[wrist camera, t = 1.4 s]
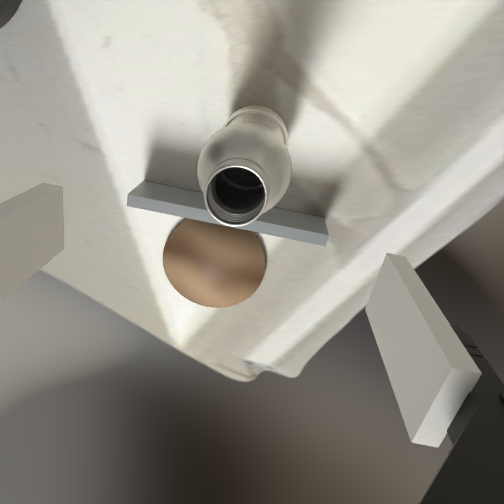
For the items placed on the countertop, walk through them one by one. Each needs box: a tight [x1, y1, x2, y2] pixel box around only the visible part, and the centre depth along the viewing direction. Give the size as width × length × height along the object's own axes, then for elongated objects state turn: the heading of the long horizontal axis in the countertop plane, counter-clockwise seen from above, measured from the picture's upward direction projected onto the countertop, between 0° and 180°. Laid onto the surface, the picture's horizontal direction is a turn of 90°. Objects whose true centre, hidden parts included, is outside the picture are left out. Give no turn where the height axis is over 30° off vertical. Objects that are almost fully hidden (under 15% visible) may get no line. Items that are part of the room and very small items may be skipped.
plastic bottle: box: [197, 105, 292, 227], centre depth 31 cm, size 6×7×20 cm
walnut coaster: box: [163, 219, 265, 308], centre depth 46 cm, size 12×12×1 cm
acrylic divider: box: [127, 181, 329, 246], centre depth 41 cm, size 1×20×5 cm, turn 80°
